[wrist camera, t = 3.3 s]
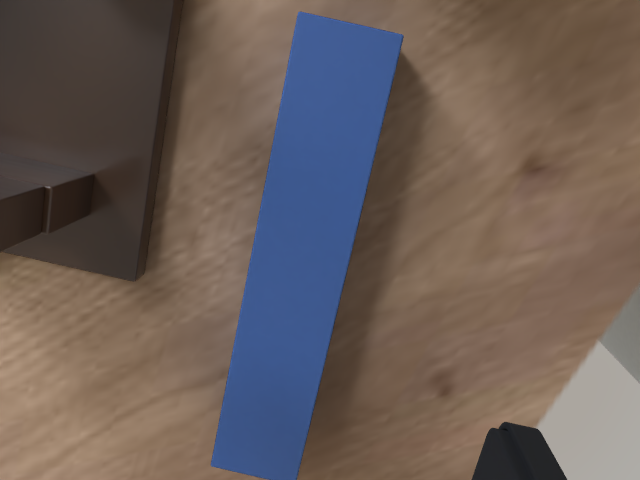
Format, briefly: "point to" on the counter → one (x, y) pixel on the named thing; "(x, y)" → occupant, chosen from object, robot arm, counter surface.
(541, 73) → the counter surface
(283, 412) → the blue bar
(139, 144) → the holder
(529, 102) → the counter surface
